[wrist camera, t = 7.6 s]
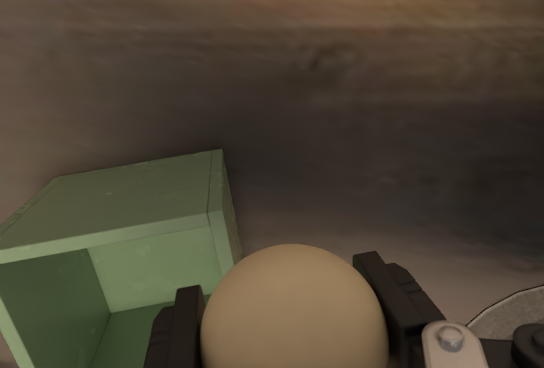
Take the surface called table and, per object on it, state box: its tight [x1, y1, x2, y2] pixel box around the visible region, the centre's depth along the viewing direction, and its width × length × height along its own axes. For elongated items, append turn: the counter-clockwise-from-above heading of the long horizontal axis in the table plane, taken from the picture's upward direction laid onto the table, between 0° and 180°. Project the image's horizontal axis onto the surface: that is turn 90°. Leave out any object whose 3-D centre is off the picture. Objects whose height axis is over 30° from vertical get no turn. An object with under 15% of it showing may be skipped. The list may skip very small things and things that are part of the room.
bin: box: [0, 149, 244, 368], centre depth 28 cm, size 14×13×12 cm
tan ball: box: [200, 244, 390, 368], centre depth 11 cm, size 5×5×5 cm
